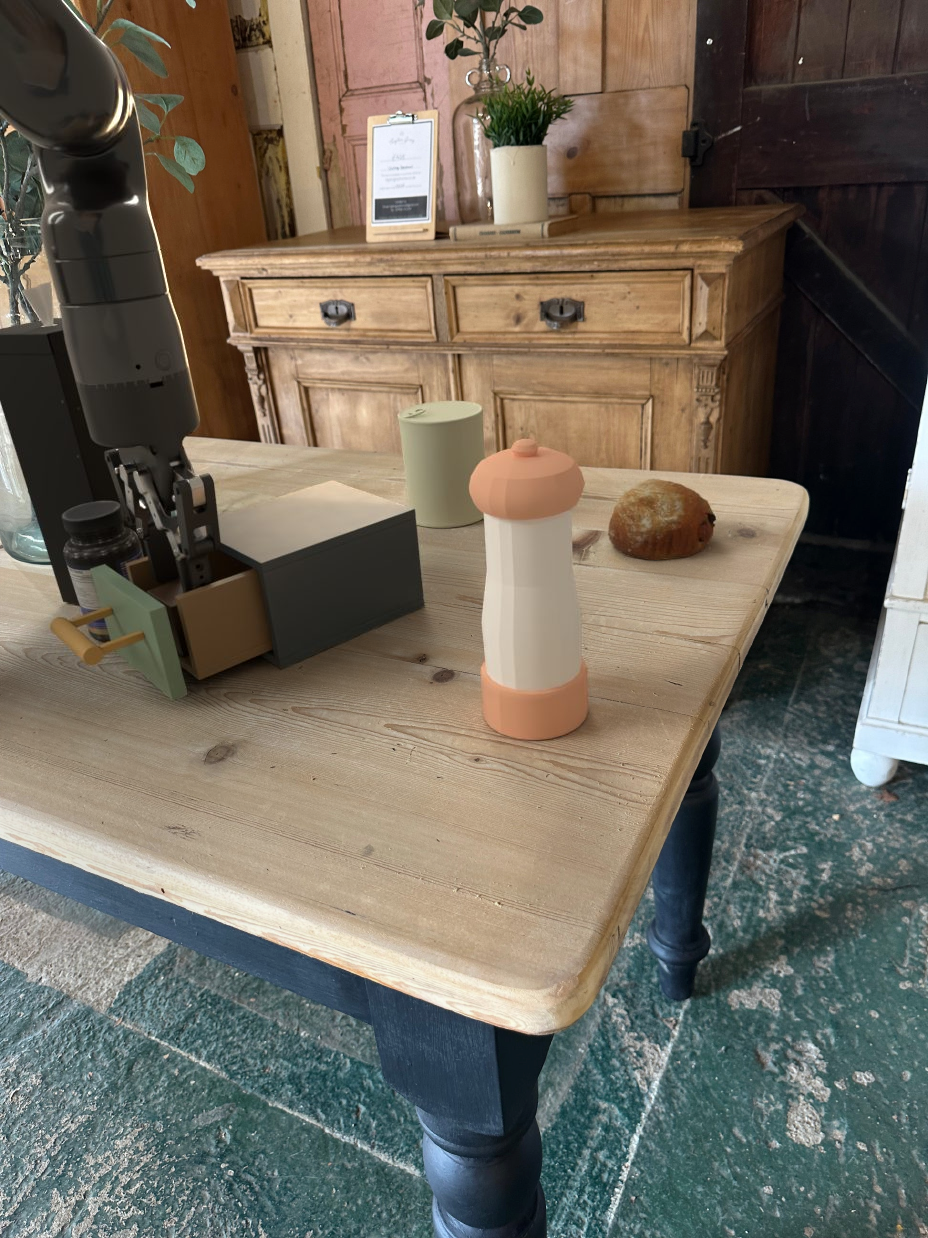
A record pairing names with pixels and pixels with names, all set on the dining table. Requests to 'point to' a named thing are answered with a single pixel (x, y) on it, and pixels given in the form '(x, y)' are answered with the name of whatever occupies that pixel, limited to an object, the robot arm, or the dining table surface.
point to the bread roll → (661, 521)
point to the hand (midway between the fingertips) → (184, 588)
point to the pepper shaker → (530, 593)
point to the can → (442, 460)
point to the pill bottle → (97, 552)
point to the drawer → (140, 630)
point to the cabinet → (327, 564)
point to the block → (172, 612)
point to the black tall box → (51, 429)
